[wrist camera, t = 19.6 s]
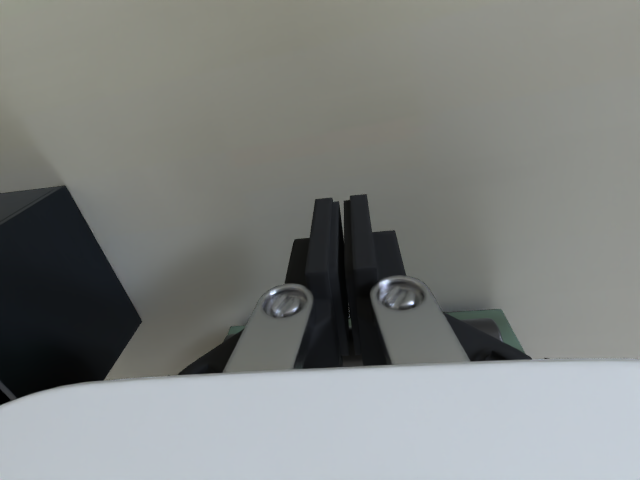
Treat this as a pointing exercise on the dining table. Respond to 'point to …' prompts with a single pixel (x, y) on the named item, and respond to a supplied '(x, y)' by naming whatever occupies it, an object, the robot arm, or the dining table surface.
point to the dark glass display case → (55, 297)
